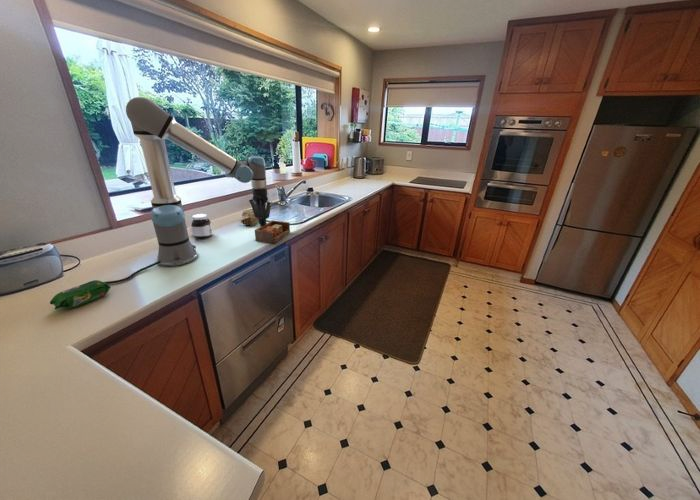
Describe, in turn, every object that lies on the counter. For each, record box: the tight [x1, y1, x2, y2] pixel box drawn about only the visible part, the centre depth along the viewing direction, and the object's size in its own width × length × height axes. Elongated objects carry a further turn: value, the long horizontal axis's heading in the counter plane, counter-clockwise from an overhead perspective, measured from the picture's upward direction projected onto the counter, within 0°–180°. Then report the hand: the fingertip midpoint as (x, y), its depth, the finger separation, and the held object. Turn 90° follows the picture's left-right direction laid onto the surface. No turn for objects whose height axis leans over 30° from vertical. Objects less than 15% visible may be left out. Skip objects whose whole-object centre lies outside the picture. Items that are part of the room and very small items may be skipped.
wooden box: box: [254, 220, 291, 244], centre depth 154 cm, size 18×11×6 cm, turn 164°
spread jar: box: [189, 213, 213, 240], centre depth 150 cm, size 12×11×12 cm
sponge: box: [240, 208, 259, 227], centre depth 176 cm, size 13×8×20 cm
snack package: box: [49, 279, 112, 310], centre depth 94 cm, size 7×16×5 cm, turn 153°
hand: (263, 229), depth 156 cm, fingers closed
